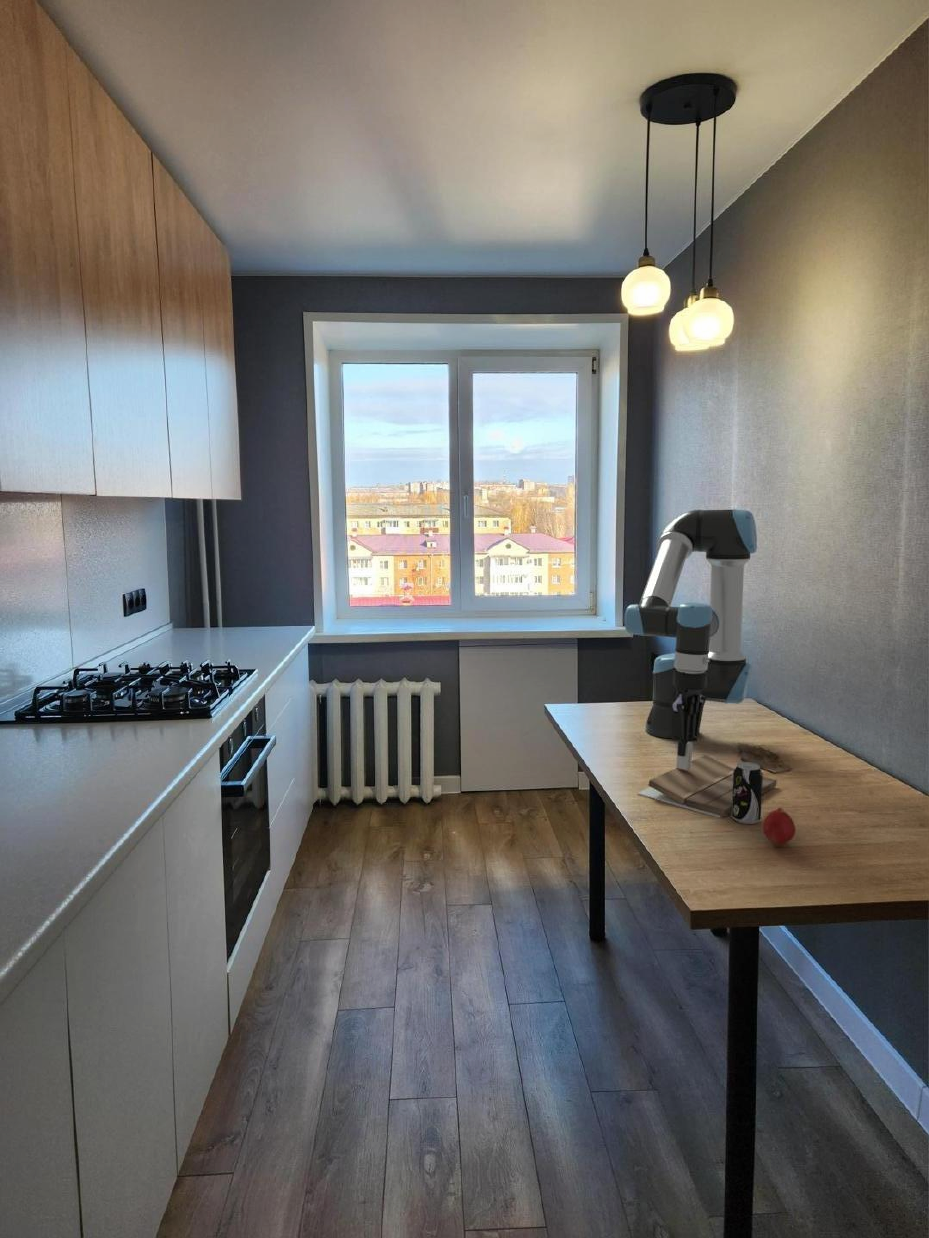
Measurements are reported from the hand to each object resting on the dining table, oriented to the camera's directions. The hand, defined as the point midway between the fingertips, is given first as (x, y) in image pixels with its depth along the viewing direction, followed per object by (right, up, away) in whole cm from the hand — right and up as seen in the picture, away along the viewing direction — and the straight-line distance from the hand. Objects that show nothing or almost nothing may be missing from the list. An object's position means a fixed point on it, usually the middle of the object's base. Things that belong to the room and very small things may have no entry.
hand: (683, 767), depth 182 cm
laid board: (+9, -5, -8) cm, 13 cm away
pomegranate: (+9, -9, -34) cm, 36 cm away
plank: (+2, -3, -1) cm, 4 cm away
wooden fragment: (+26, -2, +21) cm, 33 cm away
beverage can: (+7, -7, -21) cm, 23 cm away
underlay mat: (+4, -4, -3) cm, 7 cm away
